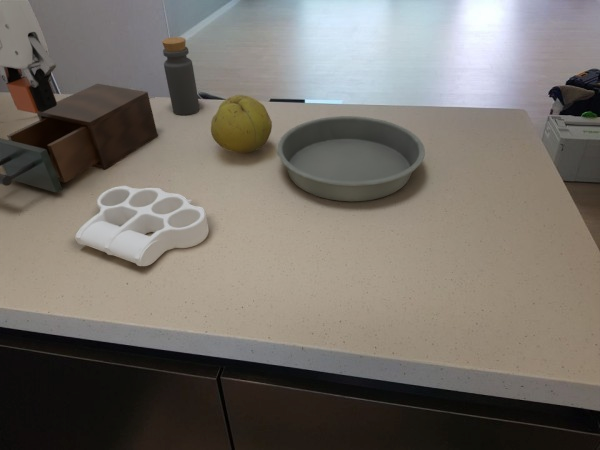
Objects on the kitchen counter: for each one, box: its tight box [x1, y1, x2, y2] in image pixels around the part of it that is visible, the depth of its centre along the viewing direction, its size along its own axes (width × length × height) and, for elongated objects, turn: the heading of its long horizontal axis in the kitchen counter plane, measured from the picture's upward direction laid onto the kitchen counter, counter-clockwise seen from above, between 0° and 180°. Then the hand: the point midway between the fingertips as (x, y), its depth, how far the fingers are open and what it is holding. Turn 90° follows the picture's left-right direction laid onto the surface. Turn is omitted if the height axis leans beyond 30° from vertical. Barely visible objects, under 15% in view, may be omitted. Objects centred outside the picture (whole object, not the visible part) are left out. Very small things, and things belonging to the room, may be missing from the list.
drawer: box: [0, 117, 99, 194], centre depth 76 cm, size 19×11×7 cm, turn 155°
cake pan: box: [276, 115, 426, 202], centre depth 78 cm, size 25×25×4 cm
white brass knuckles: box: [74, 185, 210, 267], centre depth 65 cm, size 3×18×15 cm
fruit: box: [210, 94, 273, 154], centre depth 83 cm, size 11×12×10 cm
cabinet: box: [36, 83, 159, 171], centre depth 85 cm, size 15×13×9 cm
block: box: [6, 76, 58, 114], centre depth 72 cm, size 4×4×4 cm
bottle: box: [161, 36, 200, 116], centre depth 97 cm, size 6×6×15 cm
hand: (36, 105), depth 73 cm, fingers closed on block, 4 cm apart
